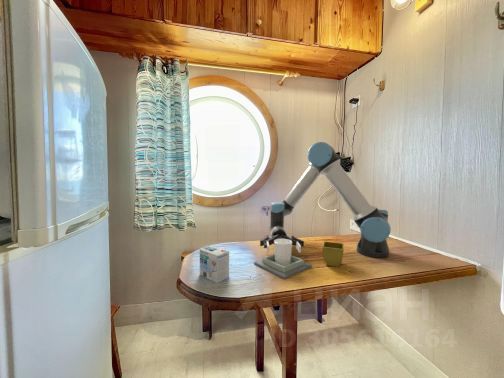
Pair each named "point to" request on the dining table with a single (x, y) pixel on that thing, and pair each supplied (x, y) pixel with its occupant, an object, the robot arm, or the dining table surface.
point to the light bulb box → (214, 263)
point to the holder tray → (283, 271)
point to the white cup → (282, 251)
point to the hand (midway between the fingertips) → (284, 249)
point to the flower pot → (333, 253)
